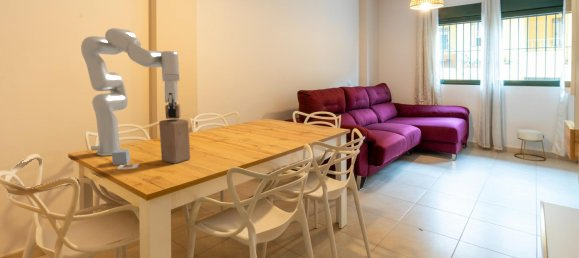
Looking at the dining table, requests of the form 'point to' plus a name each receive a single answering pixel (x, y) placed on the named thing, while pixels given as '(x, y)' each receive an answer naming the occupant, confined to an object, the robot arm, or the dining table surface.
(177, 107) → the walnut cube
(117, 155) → the slate-grey cube
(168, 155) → the wooden block
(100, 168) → the dining table surface
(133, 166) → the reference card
